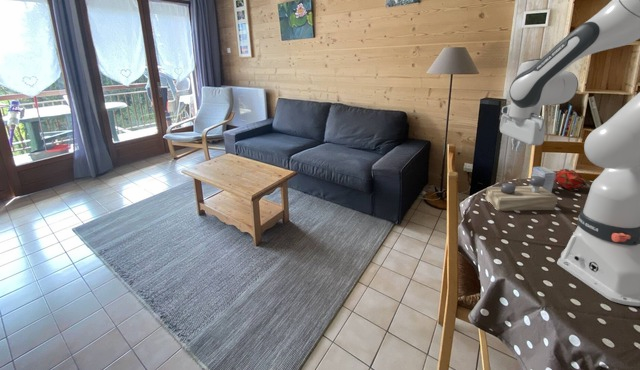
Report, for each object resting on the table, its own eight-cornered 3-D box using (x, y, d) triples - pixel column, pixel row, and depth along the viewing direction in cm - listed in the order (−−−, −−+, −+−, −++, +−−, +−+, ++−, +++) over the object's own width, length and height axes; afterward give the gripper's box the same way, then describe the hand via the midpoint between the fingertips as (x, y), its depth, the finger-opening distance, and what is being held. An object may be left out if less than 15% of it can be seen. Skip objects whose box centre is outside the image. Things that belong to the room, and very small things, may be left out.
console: (554, 209, 114) (558, 196, 112) (498, 210, 115) (500, 197, 113) (537, 197, 124) (540, 185, 122) (485, 198, 124) (487, 187, 122)
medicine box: (551, 193, 127) (556, 173, 124) (539, 193, 127) (545, 173, 124) (539, 185, 134) (544, 166, 131) (528, 185, 135) (533, 166, 131)
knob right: (543, 198, 116) (548, 180, 113) (531, 199, 116) (535, 180, 113) (535, 193, 120) (540, 175, 117) (524, 194, 120) (528, 176, 117)
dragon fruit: (550, 185, 138) (579, 199, 129) (544, 178, 133) (574, 192, 124) (564, 169, 137) (594, 182, 127) (559, 161, 132) (590, 174, 122)
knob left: (514, 205, 117) (518, 187, 114) (502, 205, 117) (506, 187, 114) (507, 200, 121) (511, 183, 118) (496, 200, 121) (499, 183, 118)
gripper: (555, 116, 96) (544, 160, 102) (517, 106, 115) (509, 144, 121) (534, 116, 97) (524, 160, 102) (499, 107, 116) (492, 144, 121)
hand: (516, 151), depth 111 cm, fingers closed
